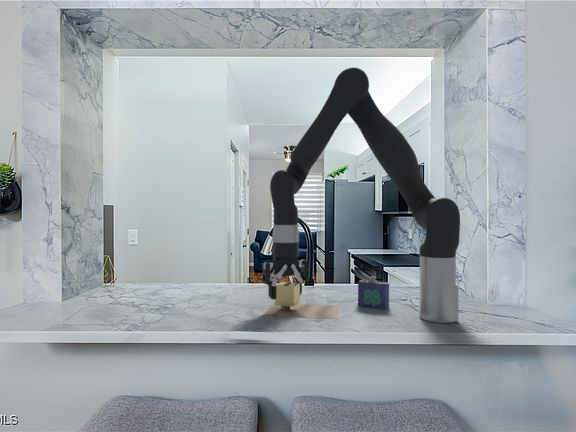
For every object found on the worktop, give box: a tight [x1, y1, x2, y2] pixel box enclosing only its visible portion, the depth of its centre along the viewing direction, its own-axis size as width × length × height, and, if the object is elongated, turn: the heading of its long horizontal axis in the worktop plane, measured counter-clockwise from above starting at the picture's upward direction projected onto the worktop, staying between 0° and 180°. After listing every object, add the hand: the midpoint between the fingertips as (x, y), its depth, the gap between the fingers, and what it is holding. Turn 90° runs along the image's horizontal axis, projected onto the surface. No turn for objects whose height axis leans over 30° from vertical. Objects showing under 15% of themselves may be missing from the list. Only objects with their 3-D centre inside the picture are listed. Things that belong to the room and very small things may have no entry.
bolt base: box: [262, 302, 340, 320], centre depth 99 cm, size 20×14×6 cm
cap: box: [274, 280, 301, 307], centre depth 99 cm, size 6×6×6 cm
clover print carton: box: [357, 275, 390, 310], centre depth 103 cm, size 9×3×11 cm, turn 63°
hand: (285, 297), depth 100 cm, fingers closed on cap, 7 cm apart
